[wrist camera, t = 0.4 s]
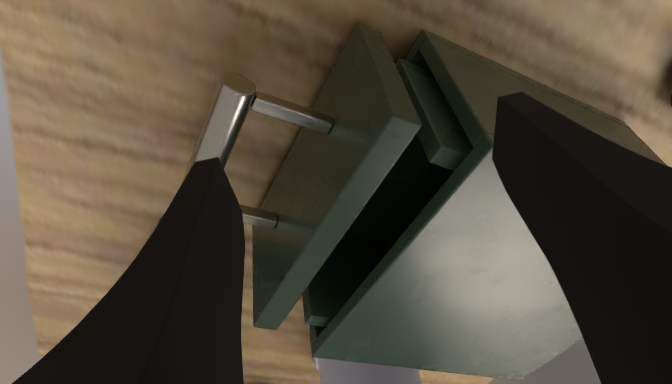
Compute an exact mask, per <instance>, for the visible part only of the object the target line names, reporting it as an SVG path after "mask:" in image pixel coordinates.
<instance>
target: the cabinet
mask: <svg viewBox="0 0 672 384" xmlns="http://www.w3.org/2000/svg"><path fill="white" fill-rule="evenodd" d="M404 60H405V61H408V62H410V63H413V64H415V65H417V66H420V67H422V68H424V69H427V70H429V71H431V72H432V74H433V76H434V78H435V80H436V81H437V83H438V85H439V87H440V89H441V90H442V92H443V94H444V96H445V98H446V99H447V101H448V103H449V105H450V107H451V108H452V110H453V112H454V114H455V116H456V117H457V119H458V121H459V123H460V125H461V127H462V128H463V130H464V132H465V134H466V136H467V137H468V139H469V141H470V143H471V145H472V146H473V147H474V148H473V149H472V150H471V151H470V153H469V154H468V155H467V156H466V157H465V159H464V160H463V161H462V162H461V164H460V165H459V166H458V167H457V168H456V170H455V171H454V172H453V173H452V174H451V176H450V177H449V178H448V179H447V181H446V182H445V183H444V184H443V185H442V187H441V188H440V189H439V190H438V191H437V193H436V194H435V195H434V196H433V198H432V199H431V200H430V201H429V202H428V204H427V205H426V206H425V207H424V208H423V210H422V211H421V212H420V213H419V215H418V216H417V217H416V218H415V219H414V221H413V222H412V223H411V224H410V225H409V227H408V228H407V229H406V230H405V232H404V233H403V234H402V235H401V236H400V238H399V239H398V240H397V241H396V242H395V244H394V245H393V246H392V247H391V249H390V250H389V251H388V252H387V253H386V255H385V256H384V257H383V258H382V259H381V261H380V262H379V263H378V264H377V266H376V267H375V268H374V269H373V270H372V272H371V273H370V274H369V275H368V276H367V278H366V279H365V280H364V281H363V283H362V284H361V285H360V286H359V287H358V289H357V290H356V291H355V292H354V294H353V295H352V296H351V297H350V298H349V300H348V301H347V302H346V303H345V304H344V306H343V307H342V308H341V309H340V311H339V312H338V313H337V314H336V315H335V317H334V318H333V319H332V320H331V321H330V323H329V324H328V325H327V326H326V327H321V326H314V325H309V332H310V342H311V344H312V345H311V350H312V357H313V358H322V359H332V360H341V361H350V362H359V363H368V364H377V365H386V366H395V367H404V368H413V369H422V370H431V371H440V372H449V373H458V374H467V375H476V376H485V377H494V378H503V379H512V380H522V379H524V378H525V377H526V376H528V375H529V374H531V373H532V372H534V371H535V370H537V369H538V368H540V367H541V366H543V365H544V364H545V363H547V362H548V361H550V360H551V359H553V358H554V357H556V356H557V355H559V354H560V353H562V352H563V351H564V350H566V349H567V348H569V347H570V346H572V345H573V344H575V343H576V342H577V341H579V340H580V339H582V338H583V336H582V334H581V332H580V329H579V327H578V325H577V322H576V320H575V318H574V315H573V313H572V311H571V308H570V306H569V304H568V302H567V300H566V297H565V295H564V293H563V291H562V289H561V287H560V284H559V282H558V280H557V278H556V276H555V274H554V272H553V270H552V268H551V266H550V264H549V262H548V261H547V259H546V257H545V255H544V254H543V252H542V250H541V249H540V247H539V245H538V244H537V242H536V240H535V239H534V237H533V236H532V234H531V232H530V231H529V229H528V227H527V226H526V224H525V222H524V221H523V219H522V218H521V216H520V214H519V213H518V211H517V209H516V208H515V206H514V204H513V203H512V201H511V199H510V197H509V196H508V194H507V192H506V191H505V188H504V186H503V184H502V182H501V179H500V177H499V175H498V172H497V170H496V167H495V165H494V162H493V160H492V152H493V142H494V131H495V121H496V110H497V100H498V97H500V96H505V95H509V94H514V93H519V92H523V93H525V94H527V95H529V96H531V97H533V98H534V99H536V100H538V101H540V102H541V103H543V104H545V105H547V106H548V107H550V108H552V109H553V110H555V111H557V112H559V113H560V114H562V115H564V116H566V117H567V118H569V119H571V120H573V121H574V122H576V123H578V124H580V125H582V126H583V127H585V128H587V129H589V130H591V131H593V132H594V133H596V134H598V135H600V136H602V137H604V138H606V139H608V140H610V141H612V142H614V143H616V144H618V145H620V146H622V147H625V148H627V149H629V150H631V151H633V152H635V153H637V154H639V155H642V156H644V157H646V158H649V159H651V160H654V161H656V162H659V163H661V164H664V165H666V164H665V163H664V162H663V161H662V160H661V159H660V158H659V157H658V156H657V155H656V154H655V153H654V152H653V151H652V150H651V149H650V148H649V147H648V146H647V145H646V144H645V143H644V142H643V141H642V140H641V139H640V138H639V137H638V136H637V135H636V134H635V133H634V132H633V131H632V130H631V128H630V127H629V126H628V125H627V124H626V123H625V122H623V121H621V120H618V119H616V118H614V117H612V116H610V115H608V114H605V113H603V112H601V111H599V110H597V109H595V108H592V107H590V106H588V105H586V104H584V103H582V102H579V101H577V100H575V99H573V98H571V97H569V96H567V95H564V94H562V93H560V92H558V91H556V90H554V89H551V88H549V87H547V86H545V85H543V84H541V83H538V82H536V81H534V80H532V79H530V78H528V77H525V76H523V75H521V74H519V73H517V72H515V71H512V70H510V69H508V68H506V67H504V66H502V65H499V64H497V63H495V62H493V61H491V60H489V59H486V58H484V57H482V56H480V55H478V54H476V53H473V52H471V51H469V50H467V49H465V48H463V47H460V46H458V45H456V44H454V43H452V42H450V41H447V40H445V39H443V38H441V37H439V36H437V35H434V34H432V33H430V32H428V31H426V30H422V31H421V33H420V35H419V36H418V38H417V39H416V41H415V43H414V44H413V46H412V47H411V49H410V51H409V52H408V54H407V56H406V57H405V59H404ZM666 166H667V165H666Z"/></svg>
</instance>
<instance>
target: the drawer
mask: <svg viewBox="0 0 672 384" xmlns="http://www.w3.org/2000/svg"><path fill="white" fill-rule="evenodd" d="M250 106H251V110H252V111H256V112H259V113H262V114H265V115H268V116H271V117H274V118H277V119H280V120H284V121H287V122H290V123H293V124H296V125H299V126H302V129H301V131H300V132H299V134H298V136H297V138H296V140H295V142H294V144H293V146H292V148H291V150H290V152H289V153H288V155H287V157H286V159H285V161H284V163H283V165H282V167H281V169H280V171H279V173H278V174H277V176H276V178H275V180H274V182H273V184H272V186H271V188H270V190H269V192H268V194H267V195H266V197H265V199H264V201H263V203H262V205H261V207H260V209H257V208H252V207H248V206H244V205H240V204H239V205H240V207H241V210H242V214H243V223H247V224H251V225H252V235H253V325H254V327H258V328H265V329H273V330H277V329H278V327H279V326H280V324H281V323H282V322H283V320H284V319H285V317H286V316H287V315H288V313H289V312H290V310H291V309H292V308H293V306H294V305H295V303H296V302H297V301H298V299H299V298H300V296H301V295H302V297H303V307H304V317H305V324H307V325H314V326H321V327H326V326H327V325H328V324H329V323H330V321H331V320H332V319H333V318H334V317H335V315H336V314H337V313H338V312H339V311H340V309H341V308H342V307H343V306H344V304H345V303H346V302H347V301H348V300H349V298H350V297H351V296H352V295H353V294H354V292H355V291H356V290H357V289H358V287H359V286H360V285H361V284H362V283H363V281H364V280H365V279H366V278H367V276H368V275H369V274H370V273H371V272H372V270H373V269H374V268H375V267H376V266H377V264H378V263H379V262H380V261H381V259H382V258H383V257H384V256H385V255H386V253H387V252H388V251H389V250H390V249H391V247H392V246H393V245H394V244H395V242H396V241H397V240H398V239H399V238H400V236H401V235H402V234H403V233H404V232H405V230H406V229H407V228H408V227H409V225H410V224H411V223H412V222H413V221H414V219H415V218H416V217H417V216H418V215H419V213H420V212H421V211H422V210H423V208H424V207H425V206H426V205H427V204H428V202H429V201H430V200H431V199H432V198H433V196H434V195H435V194H436V193H437V191H438V190H439V189H440V188H441V187H442V185H443V184H444V183H445V182H446V181H447V179H448V178H449V177H450V176H451V174H452V173H453V172H454V171H455V170H456V168H457V167H458V166H459V165H460V164H461V162H462V161H463V160H464V159H465V157H466V156H467V155H468V154H469V153H470V151H471V150H472V149H473V148H474V147H473V146H472V145H471V143H470V141H469V139H468V137H467V136H466V134H465V132H464V130H463V128H462V127H461V125H460V123H459V121H458V119H457V117H456V116H455V114H454V112H453V110H452V108H451V107H450V105H449V103H448V101H447V99H446V98H445V96H444V94H443V92H442V90H441V89H440V87H439V85H438V83H437V81H436V80H435V78H434V76H433V74H432V72H431V71H429V70H427V69H424V68H422V67H420V66H417V65H415V64H413V63H410V62H408V61H405V60H403V59H401V58H399V60H398V61H397V63H396V65H395V63H394V61H393V59H392V57H391V54H390V52H389V50H388V48H387V46H386V43H385V41H384V39H383V37H382V35H381V33H380V32H378V31H376V30H373V29H371V28H369V27H367V26H364V25H362V24H360V23H357V24H356V26H355V27H354V29H353V31H352V33H351V35H350V37H349V39H348V41H347V43H346V45H345V47H344V48H343V50H342V52H341V54H340V56H339V58H338V60H337V62H336V64H335V66H334V68H333V69H332V71H331V73H330V75H329V77H328V79H327V81H326V83H325V85H324V87H323V89H322V90H321V92H320V94H319V96H318V98H317V100H316V102H315V104H314V106H313V108H312V109H309V108H306V107H303V106H300V105H297V104H294V103H292V102H289V101H286V100H283V99H280V98H277V97H274V96H271V95H268V94H265V93H262V92H259V91H256V87H255V85H254V84H253V83H252V82H251V81H250V80H249V79H247V78H246V77H244V76H242V75H239V74H236V73H225V74H223V75H222V76H221V77H220V79H219V82H218V85H217V87H216V90H215V93H214V96H213V98H212V101H211V104H210V107H209V109H208V112H207V115H206V117H205V120H204V123H203V126H202V128H201V131H200V134H199V137H198V139H197V142H196V145H195V148H194V150H193V153H192V156H191V159H190V161H189V164H188V167H187V170H186V172H185V175H184V178H183V181H184V179H185V178H186V176H187V174H188V172H189V171H190V169H191V167H192V165H193V164H194V162H196V161H201V160H206V159H210V158H215V157H218V158H219V160H220V162H221V165H222V167H223V169H224V167H225V165H226V163H227V160H228V158H229V156H230V153H231V151H232V149H233V146H234V144H235V142H236V139H237V137H238V135H239V132H240V130H241V128H242V125H243V123H244V121H245V118H246V116H247V113H248V111H249V109H250ZM183 181H182V183H183ZM182 183H181V185H182Z"/></svg>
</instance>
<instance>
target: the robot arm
mask: <svg viewBox="0 0 672 384" xmlns="http://www.w3.org/2000/svg"><path fill="white" fill-rule="evenodd" d="M492 160H493V162H494V165H495V167H496V170H497V172H498V175H499V177H500V179H501V182H502V184H503V186H504V188H505V191H506V192H507V194H508V196H509V197H510V199H511V201H512V203H513V204H514V206H515V208H516V209H517V211H518V213H519V214H520V216H521V218H522V219H523V221H524V222H525V224H526V226H527V227H528V229H529V231H530V232H531V234H532V236H533V237H534V239H535V240H536V242H537V244H538V245H539V247H540V249H541V250H542V252H543V254H544V255H545V257H546V259H547V261H548V262H549V264H550V266H551V268H552V270H553V272H554V274H555V276H556V278H557V280H558V282H559V284H560V287H561V289H562V291H563V293H564V295H565V297H566V300H567V302H568V304H569V306H570V308H571V311H572V313H573V315H574V318H575V320H576V322H577V325H578V327H579V329H580V332H581V334H582V336H583V339H584V341H585V344H586V346H587V348H588V351H589V353H590V356H591V358H592V361H593V364H594V366H595V368H596V371H597V373H598V376H599V379H600V381H601V384H672V168H671V167H669V166H666V165H664V164H661V163H659V162H656V161H654V160H651V159H649V158H646V157H644V156H642V155H639V154H637V153H635V152H633V151H631V150H629V149H627V148H625V147H622V146H620V145H618V144H616V143H614V142H612V141H610V140H608V139H606V138H604V137H602V136H600V135H598V134H596V133H594V132H593V131H591V130H589V129H587V128H585V127H583V126H582V125H580V124H578V123H576V122H574V121H573V120H571V119H569V118H567V117H566V116H564V115H562V114H560V113H559V112H557V111H555V110H553V109H552V108H550V107H548V106H547V105H545V104H543V103H541V102H540V101H538V100H536V99H534V98H533V97H531V96H529V95H527V94H525V93H523V92H519V93H514V94H509V95H505V96H500V97H498V100H497V110H496V121H495V131H494V142H493V152H492ZM244 257H245V238H244V225H243V214H242V210H241V207H240V205H239V203H238V201H237V198H236V196H235V194H234V192H233V189H232V187H231V185H230V183H229V180H228V178H227V176H226V174H225V171H224V169H223V167H222V165H221V162H220V160H219V158H218V157H215V158H210V159H206V160H201V161H196V162H194V164H193V165H192V167H191V169H190V171H189V172H188V174H187V176H186V178H185V179H184V181H183V183H182V185H181V186H180V188H179V190H178V192H177V194H176V195H175V197H174V199H173V201H172V202H171V204H170V206H169V207H168V209H167V211H166V212H165V214H164V216H163V217H162V219H161V221H160V222H159V224H158V225H157V227H156V229H155V230H154V232H153V233H152V235H151V236H150V238H149V239H148V241H147V242H146V244H145V245H144V247H143V248H142V249H141V251H140V252H139V254H138V255H137V257H136V258H135V259H134V261H133V262H132V263H131V265H130V266H129V267H128V269H127V270H126V271H125V272H124V274H123V275H122V276H121V277H120V278H119V280H118V281H117V282H116V283H115V285H114V286H113V287H112V288H111V289H110V290H109V292H108V293H107V294H106V295H105V296H104V297H103V298H102V299H101V300H100V301H99V302H98V304H97V305H96V306H95V307H94V308H93V309H92V310H91V311H90V312H89V313H88V314H87V315H86V316H85V317H84V319H83V320H82V321H81V322H80V323H79V324H78V325H77V326H76V327H75V328H74V329H73V330H72V331H71V332H70V333H69V334H68V335H67V336H66V337H64V338H63V339H62V340H61V341H60V342H59V343H58V344H57V345H56V346H55V347H54V348H53V349H52V350H51V351H49V352H48V353H47V354H46V355H45V356H44V357H43V358H42V359H41V360H40V361H38V362H37V363H36V364H35V365H34V366H33V367H32V368H30V369H29V370H28V371H27V372H26V373H24V374H23V375H22V376H21V377H20V378H18V379H17V380H16V381H15V382H13V383H12V384H244V382H243V366H242V347H241V313H242V295H243V277H244ZM308 329H309V325H308ZM309 334H310V332H309ZM314 359H315V365H316V369H317V370H318V371H319V372H320V381H321V384H422V382H421V379H420V375H419V371H418V369H413V368H404V367H395V366H386V365H377V364H368V363H359V362H350V361H341V360H332V359H322V358H314Z"/></svg>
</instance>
